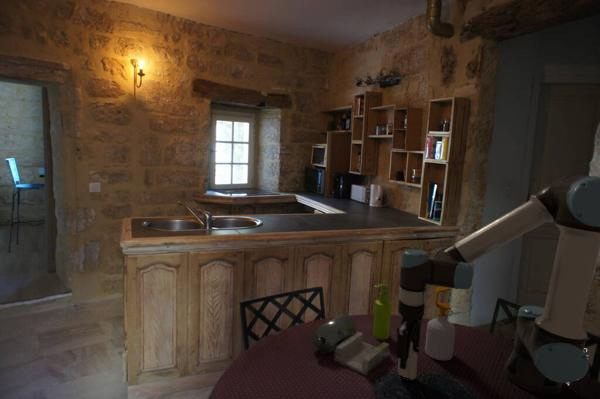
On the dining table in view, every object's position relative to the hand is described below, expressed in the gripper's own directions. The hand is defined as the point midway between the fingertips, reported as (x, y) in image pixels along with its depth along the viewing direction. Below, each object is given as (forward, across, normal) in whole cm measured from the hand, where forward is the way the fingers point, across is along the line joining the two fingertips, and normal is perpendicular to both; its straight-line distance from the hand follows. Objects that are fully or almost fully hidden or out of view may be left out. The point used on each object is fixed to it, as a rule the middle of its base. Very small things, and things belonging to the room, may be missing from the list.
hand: (406, 373), depth 114 cm
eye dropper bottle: (0, 0, 0) cm, 1 cm away
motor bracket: (+1, +1, -20) cm, 21 cm away
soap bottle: (+1, -21, +2) cm, 21 cm away
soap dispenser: (+1, -18, -18) cm, 26 cm away
